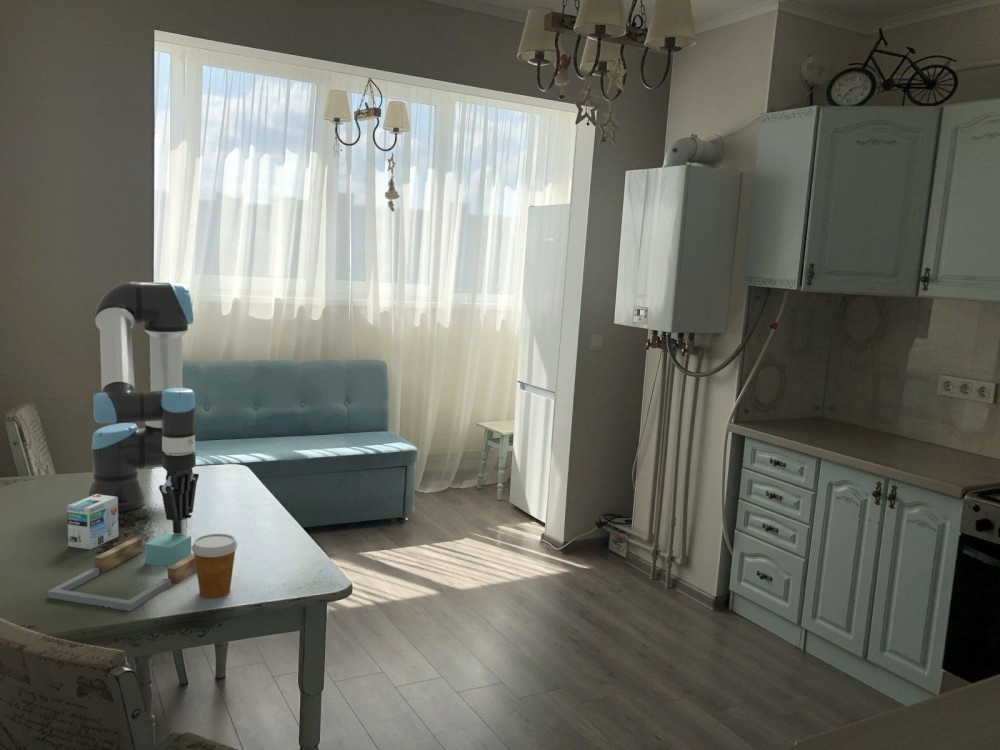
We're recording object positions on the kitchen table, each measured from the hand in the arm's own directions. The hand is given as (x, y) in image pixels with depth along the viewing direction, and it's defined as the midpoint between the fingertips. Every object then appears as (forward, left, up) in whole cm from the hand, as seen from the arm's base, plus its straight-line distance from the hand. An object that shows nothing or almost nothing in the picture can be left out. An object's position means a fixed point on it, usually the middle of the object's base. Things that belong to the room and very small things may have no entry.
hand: (180, 544), depth 195 cm
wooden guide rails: (+10, 0, -2) cm, 10 cm away
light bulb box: (+1, -24, -2) cm, 24 cm away
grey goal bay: (+24, 0, -2) cm, 24 cm away
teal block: (+5, 0, -2) cm, 5 cm away
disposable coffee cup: (+18, +21, -2) cm, 28 cm away
